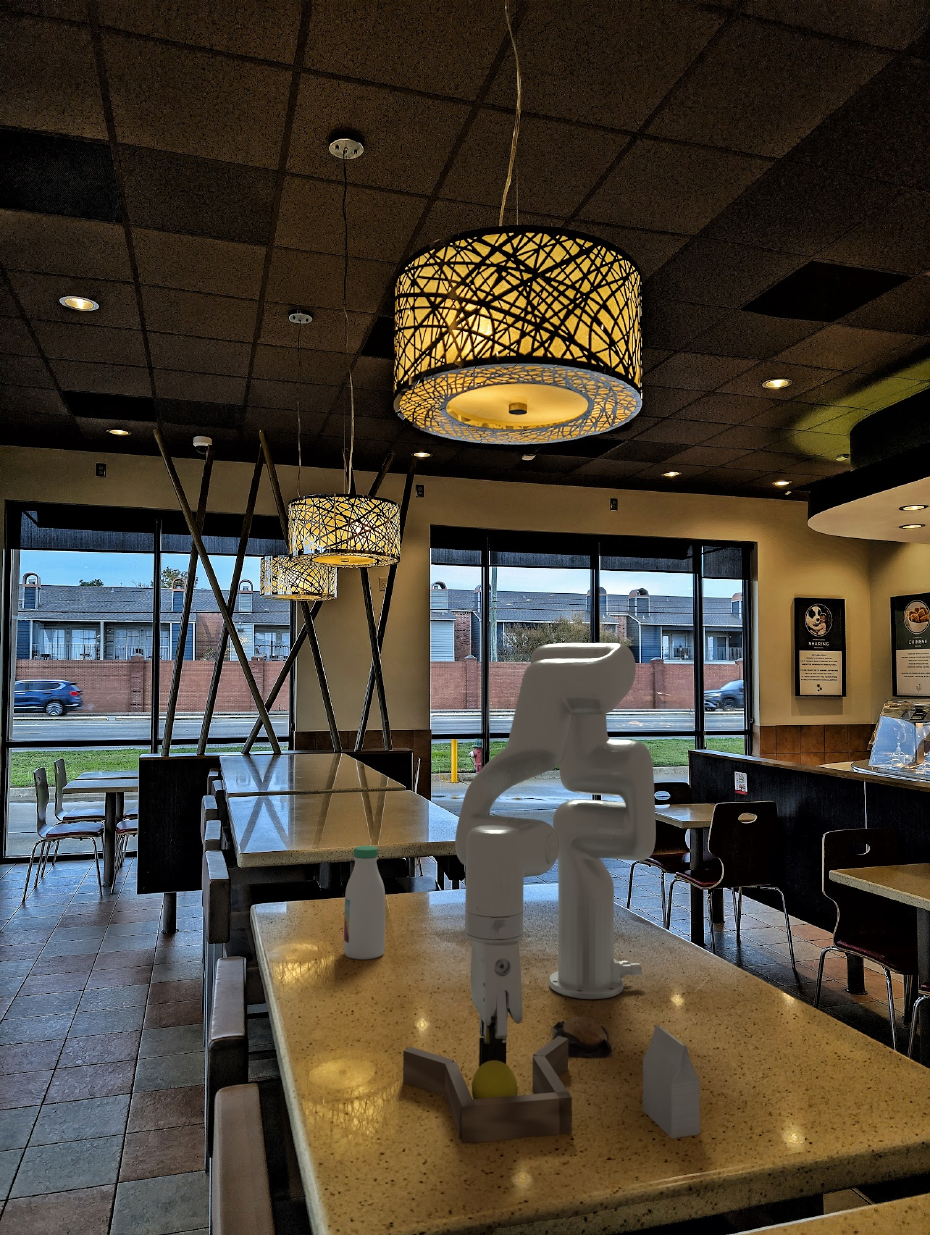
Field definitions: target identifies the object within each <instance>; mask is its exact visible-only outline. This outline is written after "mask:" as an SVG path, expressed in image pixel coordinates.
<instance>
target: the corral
mask: <svg viewBox="0 0 930 1235" xmlns="http://www.w3.org/2000/svg"><path fill="white" fill-rule="evenodd" d="M402 1052H403V1053H402V1054H403V1055H402V1056H403V1057H402V1062H403V1063H402V1065H403V1066H402V1068H403V1069H402V1083H403V1084H407V1085H409V1086H413V1087H415V1088H418V1089H421V1090H424V1091H427V1092H430V1093H433V1094H435V1095H439V1096H441V1097H442V1096H443V1097H444V1098H445V1101H446V1104H447V1105H448V1108H449V1112H450V1115H451V1117H452V1120H453V1122H454V1126H455V1128H456V1132H457V1133H458V1136H459V1139H460V1142H461V1144H470V1143H480V1142H492V1141H501V1140H512V1139H513V1140H514V1139H523V1138H533V1137H543V1136H554V1135H556V1136H557V1135H565V1134H572V1133H573V1129H572V1128H573V1127H572V1126H573V1124H572V1123H573V1119H572V1118H573V1110H572V1109H573V1100H572V1098H573V1097H572V1095H571V1094H570V1092H569V1091H568V1089H567V1088H566V1086H565V1085H564V1083H563V1081H562V1080H561V1079H560V1076H561V1075H563V1074H564V1073H566V1071H568V1070H569V1058H568V1038H564V1037H560V1036H558V1037H556V1038H555V1039H553V1038H552V1040H551V1041H549V1042H548V1043H547V1044H545V1045H543V1047H541V1048H540V1049H538V1050H536V1052H534V1053H533V1054H532V1090H533V1091H534V1094H533V1093H532V1094H531V1093H530V1094H520V1095H518V1094H517V1096H506V1097H495V1098H483V1099H473V1096H472V1094H471V1093H470V1090H469V1088H468V1086H467V1083H466V1081H465V1079H464V1076H463V1074H462V1071H461V1069H460V1066H459V1064H458V1062H457V1061H455V1060H454V1059H451V1058H449V1057H445V1056H443V1055H439V1054H435V1053H433V1052H429V1051H426V1050H423V1049H419V1048H415V1047H413V1046H408V1047H407V1048H406V1049H404V1050H403V1051H402Z"/></svg>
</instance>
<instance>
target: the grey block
mask: <svg viewBox="0 0 930 1235" xmlns="http://www.w3.org/2000/svg"><path fill="white" fill-rule="evenodd" d="M642 1059H643V1060H642V1111H643V1112H644V1113H645V1114H646V1115H647V1116H648V1117H650V1119H651V1120H652V1121H653V1122H655V1123H656V1124H657V1125H658V1127H659V1128H660V1129H661V1130H662V1131H663V1132H664V1133H666V1134H667V1136H669V1137H670V1138H671V1139H677V1138H682V1137H688V1136H694V1135H695V1136H696V1135H700V1133H701V1132H700V1129H701V1120H700V1119H701V1116H700V1111H701V1110H700V1108H701V1107H700V1105H701V1103H700V1101H701V1100H700V1098H701V1097H700V1080H699V1077H698V1074H697V1072H696V1070H695V1067H694V1065H693V1063H692V1061H691V1058H690V1054H689V1050H688V1046H687V1045H686V1044H684V1043H683V1042H682V1041H680V1040H679V1039H678V1038H677V1037H675V1036H674V1035H673V1034H671V1033H670V1032H668V1031H667V1030H666V1029H664V1028H663V1027H662V1026H661V1025H659V1024H655V1025H654V1030H653V1034H652V1037H651V1039H650V1042H649V1045H648V1047H647V1050H646V1052H645V1054H644V1057H643V1058H642Z"/></svg>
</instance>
